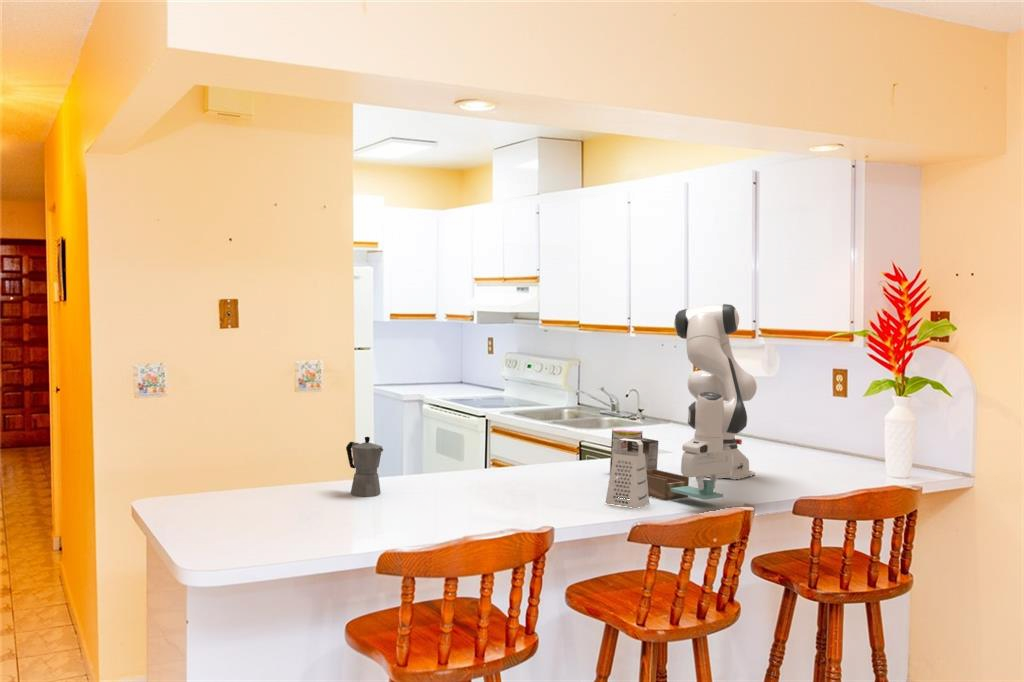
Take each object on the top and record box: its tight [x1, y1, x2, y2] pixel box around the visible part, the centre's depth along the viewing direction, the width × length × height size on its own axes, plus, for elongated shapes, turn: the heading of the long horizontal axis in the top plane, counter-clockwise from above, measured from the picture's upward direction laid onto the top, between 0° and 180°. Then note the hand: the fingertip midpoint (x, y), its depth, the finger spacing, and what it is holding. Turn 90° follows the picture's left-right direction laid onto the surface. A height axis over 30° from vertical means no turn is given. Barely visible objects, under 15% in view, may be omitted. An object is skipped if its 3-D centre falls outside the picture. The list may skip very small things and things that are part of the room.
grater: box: [604, 438, 650, 509], centre depth 282 cm, size 10×10×20 cm
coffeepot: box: [345, 436, 384, 498], centre depth 284 cm, size 15×9×18 cm, turn 54°
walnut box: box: [646, 469, 690, 501], centre depth 299 cm, size 11×16×6 cm
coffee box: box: [627, 437, 659, 470], centre depth 312 cm, size 9×6×16 cm
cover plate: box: [670, 479, 724, 501], centre depth 286 cm, size 8×14×5 cm, turn 37°
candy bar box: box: [609, 428, 643, 474], centre depth 331 cm, size 11×5×16 cm, turn 84°
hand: (706, 489), depth 283 cm, fingers closed on cover plate, 3 cm apart
